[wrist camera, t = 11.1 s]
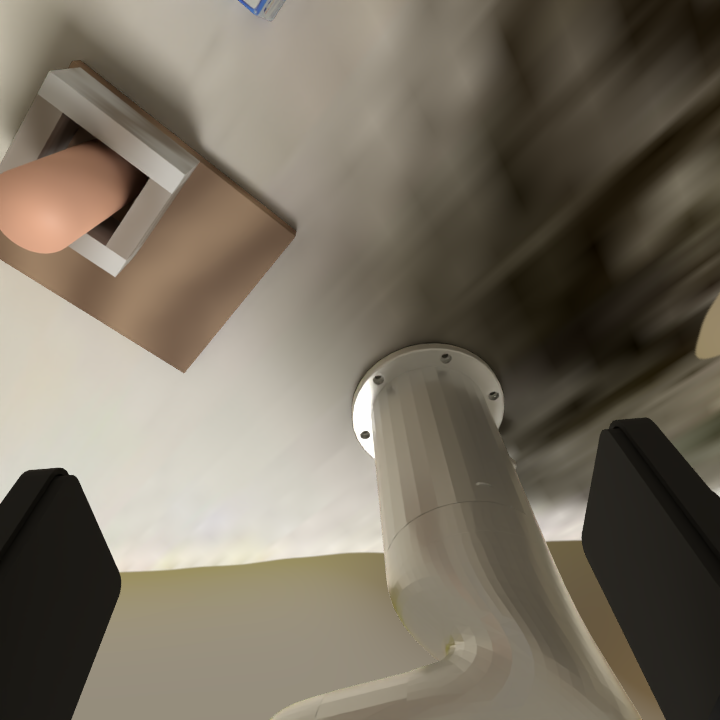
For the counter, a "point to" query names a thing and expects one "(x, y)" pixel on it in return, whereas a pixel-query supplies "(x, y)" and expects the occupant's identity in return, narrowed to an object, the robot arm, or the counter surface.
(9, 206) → the peg
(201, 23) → the counter surface
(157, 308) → the socket board
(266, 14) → the medicine box
